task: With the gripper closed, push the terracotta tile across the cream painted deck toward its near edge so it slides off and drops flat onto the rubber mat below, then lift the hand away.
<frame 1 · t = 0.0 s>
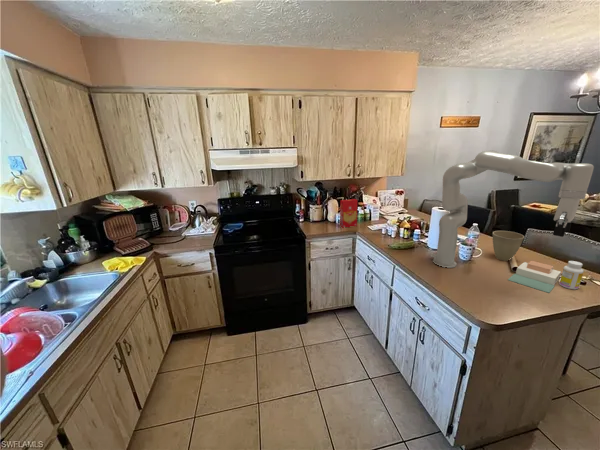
hand: (561, 233, 107), 31 cm above the worktop, fingers open, 9 cm apart
mat: (530, 283, 127), on the worktop
supplement bottle: (568, 286, 123), on the worktop
plant pot: (502, 258, 155), on the worktop
tile: (539, 269, 132), point 4 cm above the worktop, touching deck
deck: (536, 276, 133), on the worktop
food packaging: (348, 226, 231), on the worktop
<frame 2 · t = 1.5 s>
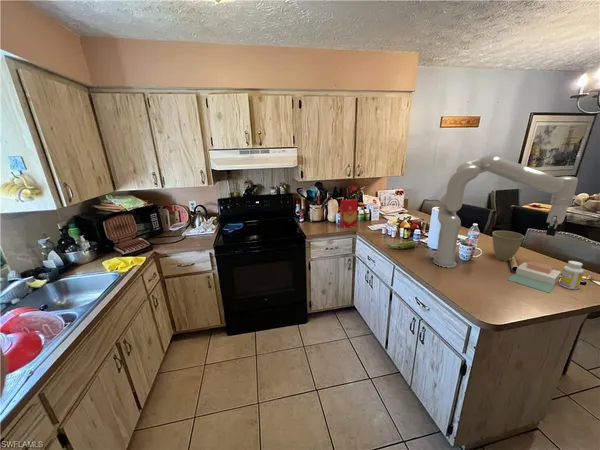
hand: (552, 233, 130), 23 cm above the worktop, fingers open, 9 cm apart
nothing on the worktop moved.
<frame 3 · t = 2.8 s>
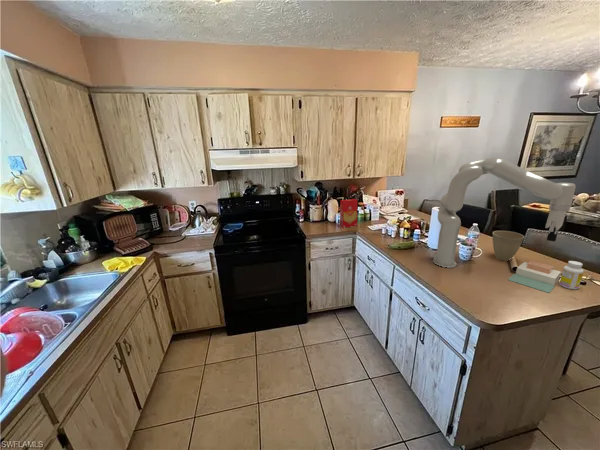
hand: (551, 240, 132), 18 cm above the worktop, fingers closed
nothing on the worktop moved.
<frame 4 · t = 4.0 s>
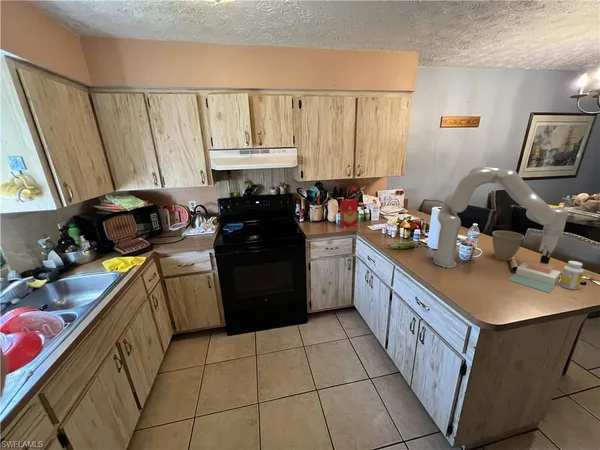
hand: (544, 262, 136), 5 cm above the worktop, fingers closed
nothing on the worktop moved.
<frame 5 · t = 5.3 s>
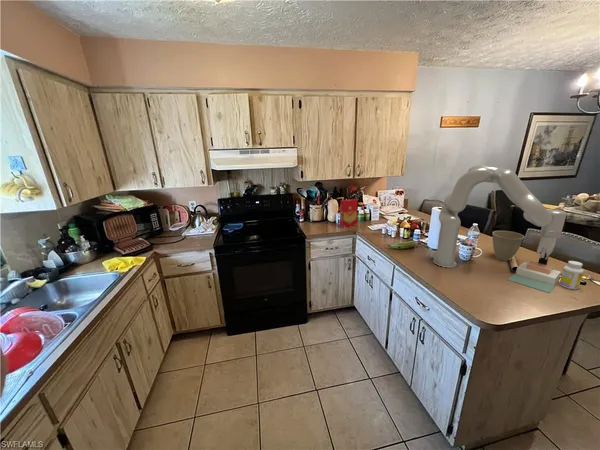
hand: (541, 265, 134), 5 cm above the worktop, fingers closed
tile: (539, 269, 132), point 4 cm above the worktop, touching deck, gripper
everything else where it was.
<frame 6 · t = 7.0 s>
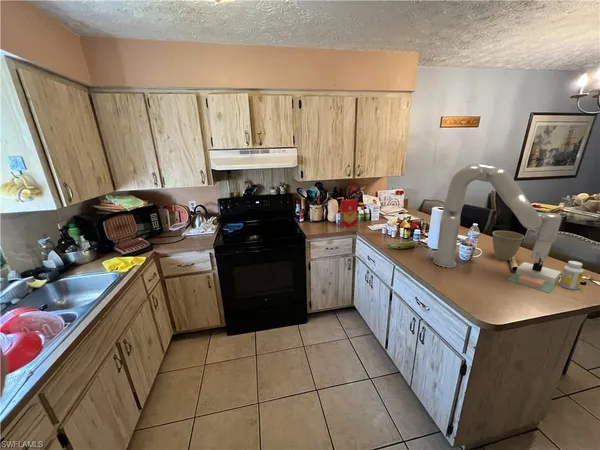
hand: (536, 270, 129), 5 cm above the worktop, fingers closed
tile: (531, 279, 125), point 3 cm above the worktop, tilted 180°, touching mat
everything else where it was.
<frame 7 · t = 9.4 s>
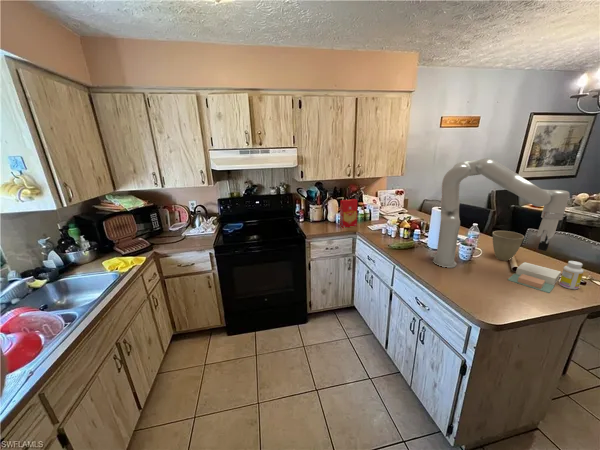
hand: (542, 249, 127), 16 cm above the worktop, fingers closed
nothing on the worktop moved.
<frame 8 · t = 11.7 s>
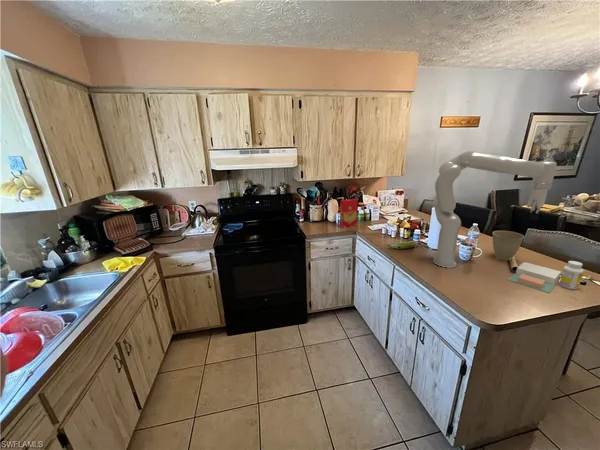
hand: (532, 219, 134), 29 cm above the worktop, fingers closed
nothing on the worktop moved.
at the end: tile inside the target area (0.9 cm from its centre), point 2.9 cm above the worktop; tile point 2.9 cm above the worktop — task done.
